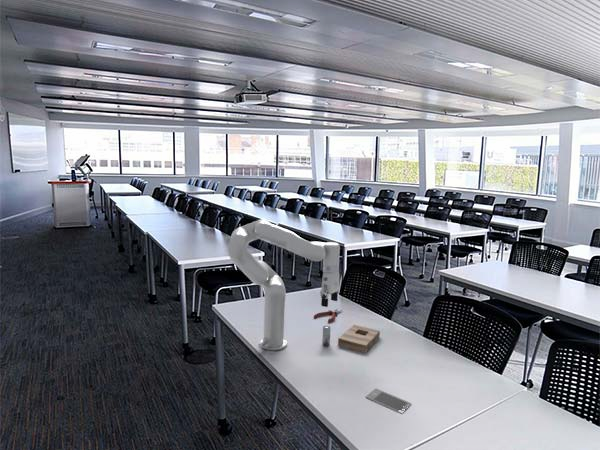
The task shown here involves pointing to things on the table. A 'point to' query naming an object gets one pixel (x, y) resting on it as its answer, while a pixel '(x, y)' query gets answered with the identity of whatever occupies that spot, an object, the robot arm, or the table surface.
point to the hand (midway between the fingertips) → (329, 303)
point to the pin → (326, 336)
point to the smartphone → (388, 400)
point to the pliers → (328, 314)
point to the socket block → (359, 338)
